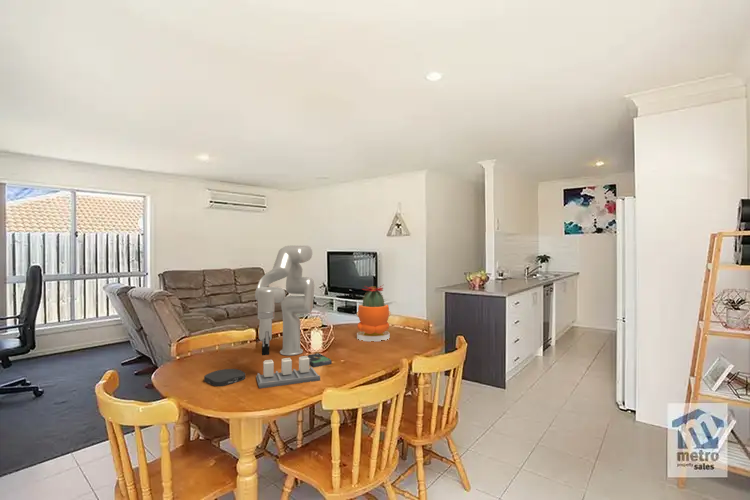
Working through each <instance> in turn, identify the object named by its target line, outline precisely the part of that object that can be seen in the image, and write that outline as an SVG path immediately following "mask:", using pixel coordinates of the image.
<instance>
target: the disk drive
mask: <svg viewBox="0 0 750 500" xmlns="http://www.w3.org/2000/svg"><path fill="white" fill-rule="evenodd" d="M302 356H303V355H301V356H300V357H302ZM307 356H308V358H309V367H312V368H318V367H324V366H329V365H332V364H333V363H332V360H331V358H329V357H327V356H325V355H324V354H321V353H319V352H318V353H313V354H308V355H307Z"/></svg>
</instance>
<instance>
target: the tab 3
mask: <svg viewBox="0 0 750 500" xmlns="http://www.w3.org/2000/svg"><path fill="white" fill-rule="evenodd" d="M301 356H302V357H301ZM301 356H299V357H298V370H299V371H300V373H305V372H309V369H310V365H309V358H308V355H301Z"/></svg>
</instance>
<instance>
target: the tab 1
mask: <svg viewBox="0 0 750 500" xmlns="http://www.w3.org/2000/svg"><path fill="white" fill-rule="evenodd" d="M274 362H275V361H273V359H266V360H264V361H263V362H262V364H263V365H262V366H263V368H262V369H263V373H262V375H264V377H272V376H274V373H275V370H274V369H275V367H274V366H275V364H274Z"/></svg>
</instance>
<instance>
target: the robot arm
mask: <svg viewBox="0 0 750 500" xmlns="http://www.w3.org/2000/svg"><path fill="white" fill-rule="evenodd" d="M312 257H313V249H312V247H311V246H309V245H285V246H282V247H281V248H280V249H279V250H278V252H277V254H276V257H275V258H276V259H275V260H274V261H275V262H274V264H273V267H272V269H271V270H269V271H268V272H266V273H265V274H264V275H263V276H261V278H260V279H259V280H258V283H257V285H256V289H255V291H254V299H255V300H256V301H257V320H259V326H258V329H259V330H258V340H260V342H261V343H262V344H261V345H262V346H261V355H262V356H269V355H270V341H271V340H272V338H273V337H272V336H273V332H272V331H273V320H274V319H275V310H276V309H275V307H276V306H275V305H276V304H279V303H280V306H281V307H280V308H281V313H282V349H280V351H279V354H280V355H283V356H297V355H301V354H302V353H303V352H304V350H303V348H301V319H300V317H299V316H298V314H303V315H304V314H307V315H308V314H311V312H312V311H313V308H314V297H315V296H314V295H315V283H314V280H313V278H312V277H307V276H303V267H302V265H301V264H303V263H304V264H305V263H307V262H309V261H310V260H311V259H312ZM285 278H286V281H285V289H284V288H281V287H276V286H275V287H272V286H271V287H270V285H271V284H273V283H275V282H277V281H280V280H282V279H285ZM286 292H287V293H288V294H293V295H289V296H287V295H286ZM300 295H301V296H300ZM302 295H303V296H302Z"/></svg>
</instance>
